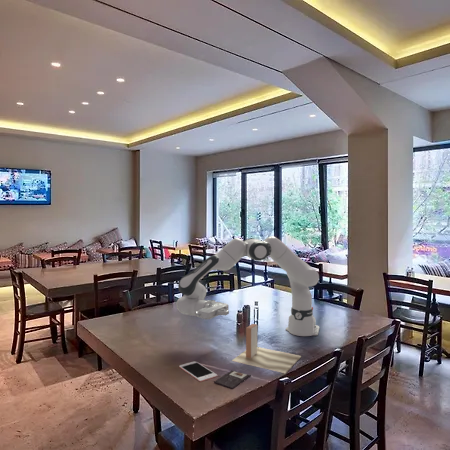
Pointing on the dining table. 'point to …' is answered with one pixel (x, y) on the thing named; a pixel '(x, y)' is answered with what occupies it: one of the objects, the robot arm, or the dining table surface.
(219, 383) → the chocolate bar
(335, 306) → the dining table surface
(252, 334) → the tile
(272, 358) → the board
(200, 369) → the cell phone
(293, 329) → the robot arm
